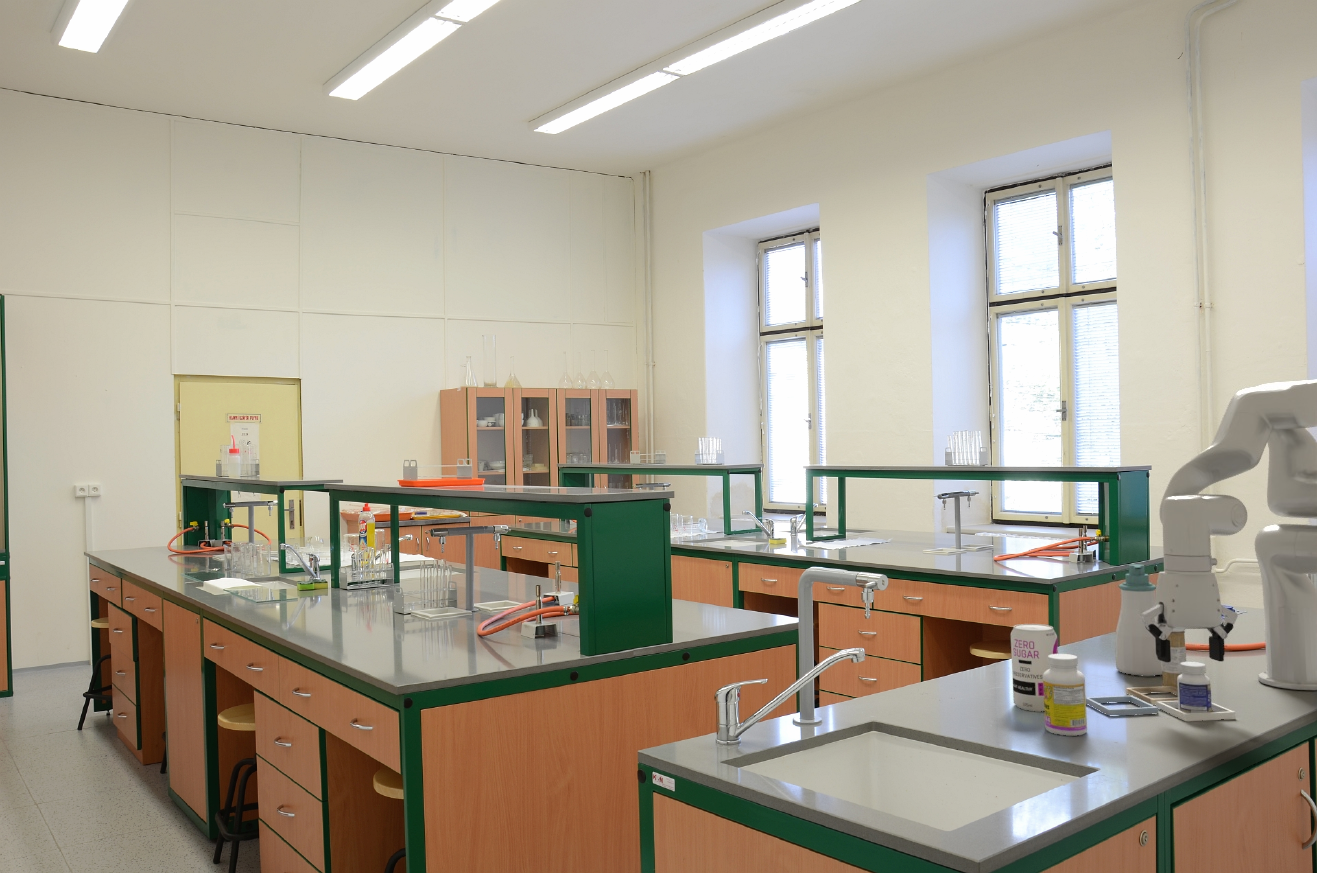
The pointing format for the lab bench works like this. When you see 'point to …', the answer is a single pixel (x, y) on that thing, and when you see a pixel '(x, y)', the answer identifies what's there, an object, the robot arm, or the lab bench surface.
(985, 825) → the lab bench surface
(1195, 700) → the pill bottle
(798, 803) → the lab bench surface
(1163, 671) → the sprinkles bottle
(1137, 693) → the tray birch
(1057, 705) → the supplement bottle
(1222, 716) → the tray white
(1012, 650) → the supplement can
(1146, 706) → the tray slate
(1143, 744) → the lab bench surface
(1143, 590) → the soap bottle
